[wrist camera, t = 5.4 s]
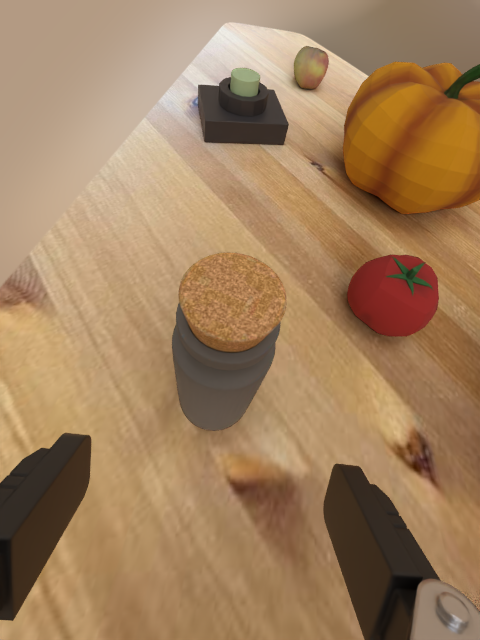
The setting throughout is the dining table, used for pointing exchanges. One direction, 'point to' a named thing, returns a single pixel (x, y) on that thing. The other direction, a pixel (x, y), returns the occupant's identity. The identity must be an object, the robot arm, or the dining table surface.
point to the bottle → (225, 336)
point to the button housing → (241, 115)
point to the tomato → (394, 294)
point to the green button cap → (244, 82)
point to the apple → (310, 67)
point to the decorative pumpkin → (416, 137)
